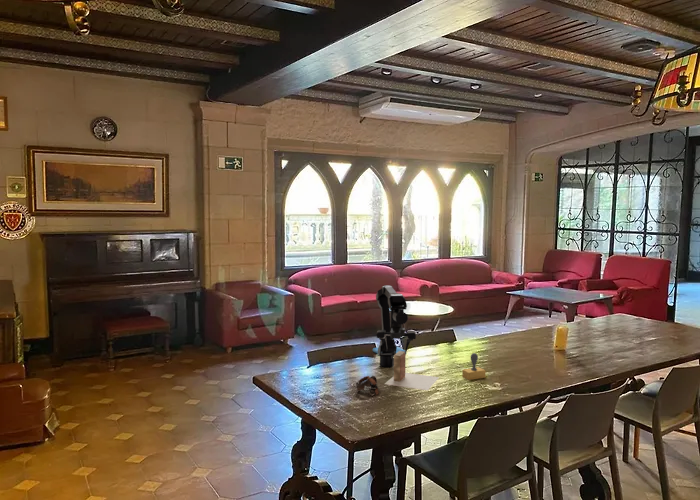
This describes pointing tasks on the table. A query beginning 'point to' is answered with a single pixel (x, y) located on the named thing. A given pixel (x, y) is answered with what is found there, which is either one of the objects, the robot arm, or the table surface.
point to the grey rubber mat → (414, 381)
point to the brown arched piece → (367, 383)
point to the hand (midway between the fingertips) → (396, 352)
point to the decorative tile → (396, 350)
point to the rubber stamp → (473, 370)
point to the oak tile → (399, 366)
